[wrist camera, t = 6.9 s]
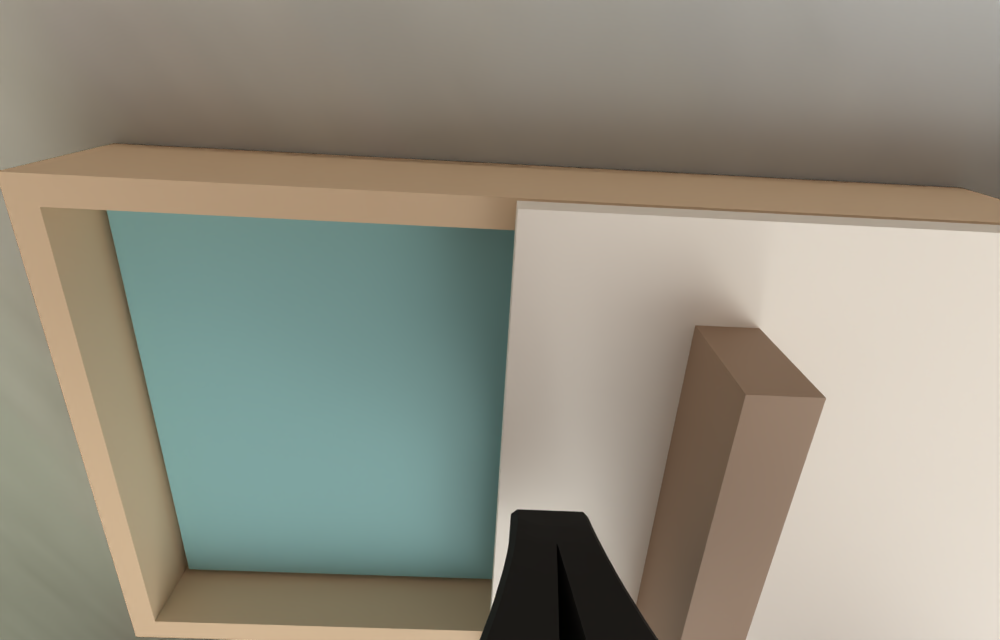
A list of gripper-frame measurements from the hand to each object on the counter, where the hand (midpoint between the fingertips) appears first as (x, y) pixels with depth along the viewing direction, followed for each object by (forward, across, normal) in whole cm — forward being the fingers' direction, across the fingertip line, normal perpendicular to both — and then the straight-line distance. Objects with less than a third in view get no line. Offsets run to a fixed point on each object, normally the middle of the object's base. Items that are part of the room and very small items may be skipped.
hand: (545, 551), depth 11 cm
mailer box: (+6, 0, 0) cm, 6 cm away
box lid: (+2, -9, 0) cm, 9 cm away
